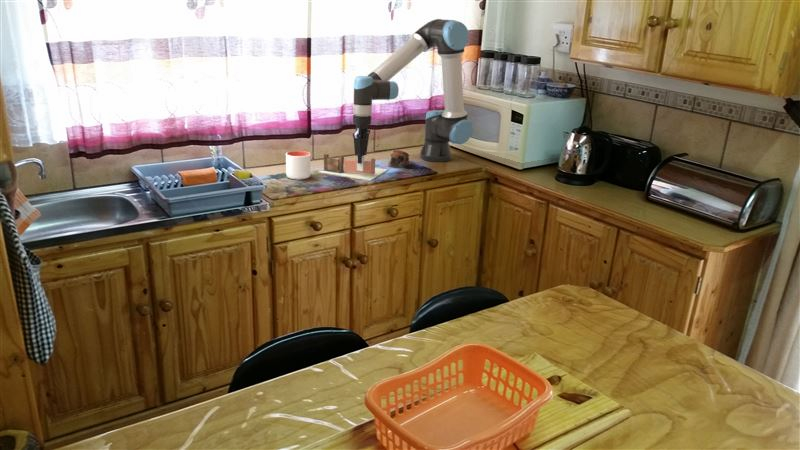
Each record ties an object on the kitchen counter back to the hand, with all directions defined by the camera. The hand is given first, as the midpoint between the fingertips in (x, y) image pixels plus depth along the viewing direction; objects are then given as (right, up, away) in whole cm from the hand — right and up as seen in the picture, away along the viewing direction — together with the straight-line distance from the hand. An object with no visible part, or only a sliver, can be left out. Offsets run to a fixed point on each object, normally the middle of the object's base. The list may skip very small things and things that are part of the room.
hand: (360, 170), depth 270 cm
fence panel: (-1, -1, +3) cm, 3 cm away
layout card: (-3, 0, +8) cm, 9 cm away
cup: (-26, -3, -4) cm, 26 cm away
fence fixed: (-12, 0, +5) cm, 13 cm away
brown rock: (+17, +3, +21) cm, 27 cm away
